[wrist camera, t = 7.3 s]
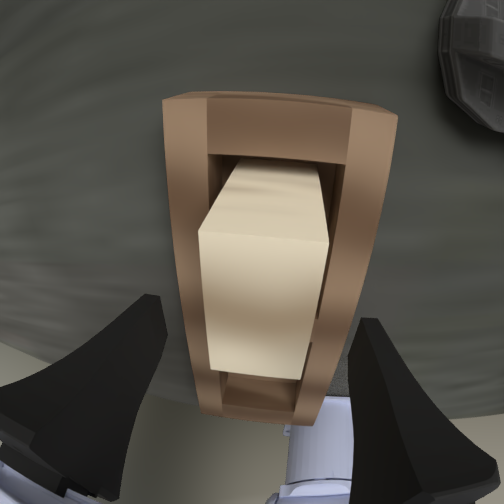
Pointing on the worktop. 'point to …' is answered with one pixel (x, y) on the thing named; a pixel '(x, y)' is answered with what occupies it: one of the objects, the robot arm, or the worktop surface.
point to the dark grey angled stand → (474, 58)
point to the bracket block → (263, 267)
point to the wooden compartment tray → (336, 212)
